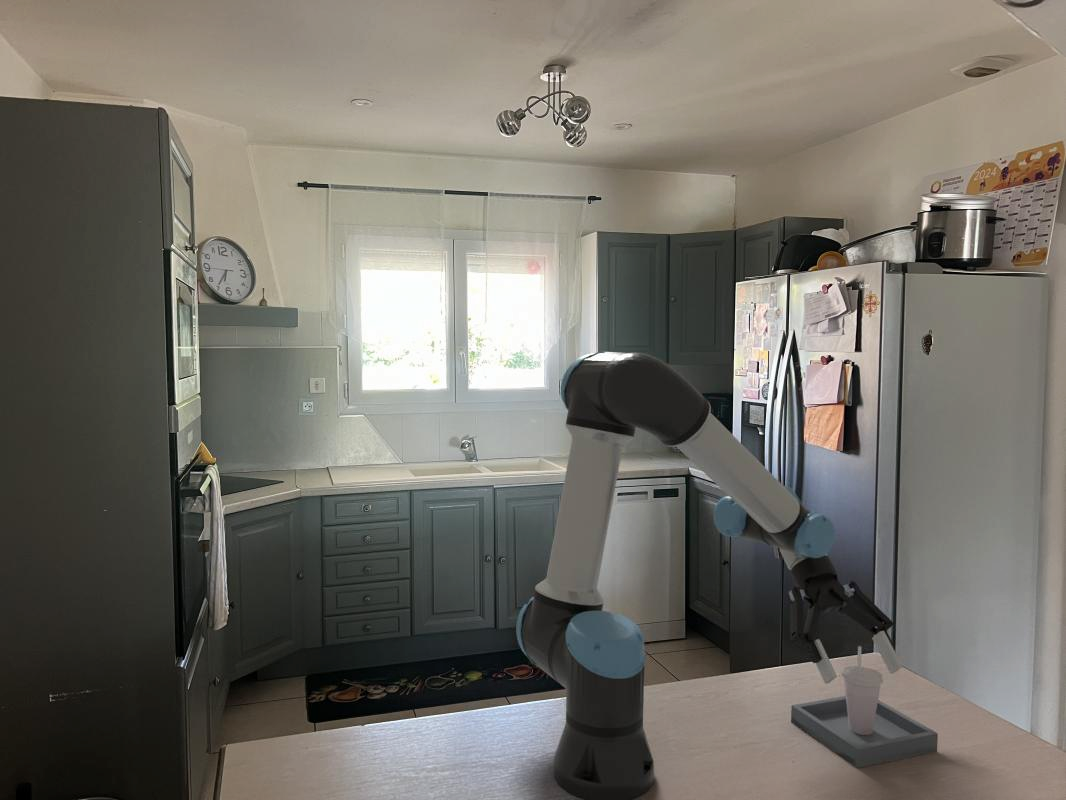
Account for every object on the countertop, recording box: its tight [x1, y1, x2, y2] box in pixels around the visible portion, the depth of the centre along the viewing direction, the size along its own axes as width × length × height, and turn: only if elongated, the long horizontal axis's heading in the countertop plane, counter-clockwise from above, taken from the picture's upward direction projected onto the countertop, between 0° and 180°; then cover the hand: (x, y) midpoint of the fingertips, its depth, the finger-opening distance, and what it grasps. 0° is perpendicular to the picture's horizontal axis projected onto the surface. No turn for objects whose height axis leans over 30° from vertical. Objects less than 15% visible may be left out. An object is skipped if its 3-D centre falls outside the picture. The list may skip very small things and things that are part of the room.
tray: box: [790, 695, 939, 769], centre depth 132 cm, size 16×16×3 cm
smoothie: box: [841, 645, 884, 735], centre depth 132 cm, size 6×6×14 cm
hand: (864, 675), depth 132 cm, fingers open, 13 cm apart
